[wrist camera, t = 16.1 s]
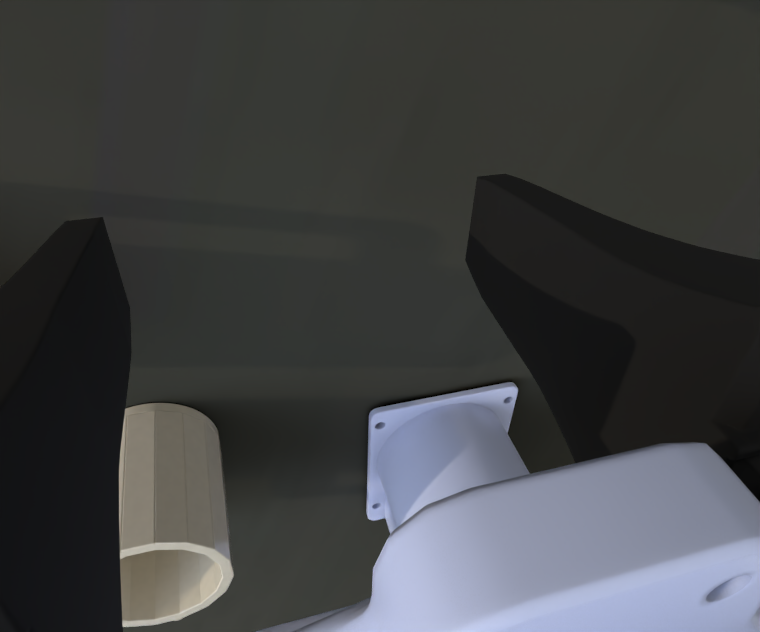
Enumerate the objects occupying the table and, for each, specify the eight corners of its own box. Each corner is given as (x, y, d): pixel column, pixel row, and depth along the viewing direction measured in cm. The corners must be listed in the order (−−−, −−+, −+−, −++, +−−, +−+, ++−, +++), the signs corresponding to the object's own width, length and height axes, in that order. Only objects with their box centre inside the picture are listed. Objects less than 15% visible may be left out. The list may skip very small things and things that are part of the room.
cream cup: (69, 416, 25) (47, 567, 20) (209, 391, 26) (222, 527, 21) (116, 522, 30) (108, 664, 25) (233, 497, 32) (247, 627, 27)
